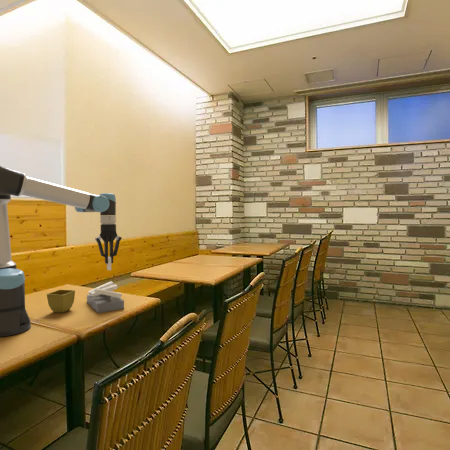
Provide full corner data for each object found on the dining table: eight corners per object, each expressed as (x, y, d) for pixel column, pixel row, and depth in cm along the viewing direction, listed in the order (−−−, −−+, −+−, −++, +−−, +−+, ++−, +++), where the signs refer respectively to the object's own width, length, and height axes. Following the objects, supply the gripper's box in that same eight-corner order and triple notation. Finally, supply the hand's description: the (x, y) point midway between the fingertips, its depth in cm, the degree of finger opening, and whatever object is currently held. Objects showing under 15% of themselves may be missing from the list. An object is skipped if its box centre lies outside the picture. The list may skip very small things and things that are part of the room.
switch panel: (97, 313, 151) (97, 300, 151) (87, 302, 169) (86, 290, 169) (124, 308, 158) (123, 296, 157) (111, 299, 176) (110, 287, 175)
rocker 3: (95, 293, 153) (96, 289, 153) (94, 291, 156) (95, 288, 156) (120, 297, 159) (121, 294, 160) (118, 296, 162) (119, 292, 162)
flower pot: (63, 314, 149) (63, 294, 149) (46, 313, 151) (46, 293, 150) (76, 309, 158) (75, 290, 157) (59, 308, 159) (59, 289, 159)
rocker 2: (93, 296, 158) (92, 293, 158) (91, 295, 161) (90, 292, 161) (118, 288, 165) (117, 285, 165) (116, 287, 168) (115, 284, 168)
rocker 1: (90, 295, 164) (89, 292, 164) (89, 293, 167) (88, 291, 166) (114, 284, 170) (113, 282, 170) (112, 283, 173) (111, 281, 173)
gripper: (96, 224, 163) (97, 272, 163) (123, 223, 170) (124, 269, 171) (93, 223, 169) (94, 270, 170) (119, 223, 176) (119, 267, 177)
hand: (109, 269), depth 170 cm, fingers closed
